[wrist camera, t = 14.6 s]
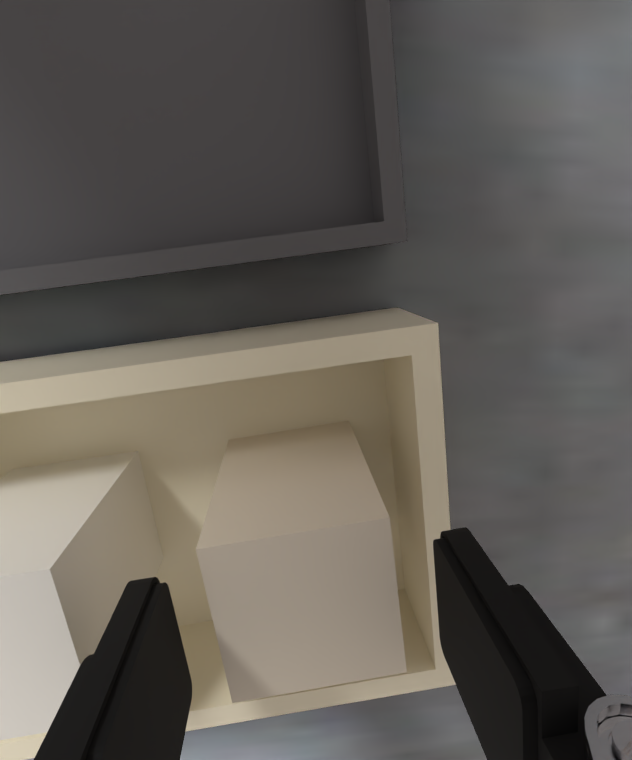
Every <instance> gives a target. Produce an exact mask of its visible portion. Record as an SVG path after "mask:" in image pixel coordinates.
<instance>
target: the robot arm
mask: <svg viewBox="0 0 632 760" xmlns="http://www.w3.org/2000/svg"><path fill="white" fill-rule="evenodd" d="M433 552H434V566H435V580H436V594H437V608H438V622H439V636H440V643H441V647H442V651H443V654H444V657H445V659H446V662H447V664H448V667H449V669H450V671H451V674H452V676H453V679H454V681H455V683H456V686H457V688H458V691H459V693H460V695H461V698H462V700H463V703H464V705H465V707H466V710H467V712H468V715H469V717H470V719H471V722H472V724H473V726H474V729H475V731H476V734H477V736H478V738H479V741H480V743H481V746H482V748H483V750H484V753H485V755H486V758H487V760H632V697H631V696H627V695H606V694H605V693H604V691H603V690H602V689H601V687H600V686H599V685H598V683H597V682H596V681H595V679H594V678H593V677H592V675H591V674H590V673H589V671H588V670H587V669H586V667H585V666H584V665H583V663H582V662H581V661H580V660H579V658H578V657H577V656H576V654H575V653H574V652H573V650H572V649H571V648H570V646H569V645H568V644H567V642H566V641H565V640H564V638H563V637H562V636H561V634H560V633H559V632H558V630H557V629H556V628H555V626H554V625H553V624H552V622H551V621H550V620H549V618H548V617H547V616H546V614H545V613H544V612H543V611H542V609H541V608H540V607H539V605H538V604H537V603H536V601H535V600H534V599H533V597H532V596H531V595H530V593H529V592H528V591H527V590H526V589H525V588H524V587H523V586H522V585H520V584H516V585H510V586H508V584H507V583H506V582H505V580H504V579H503V577H502V576H501V575H500V573H499V572H498V570H497V569H496V568H495V566H494V565H493V563H492V562H491V560H490V559H489V558H488V556H487V555H486V553H485V552H484V551H483V549H482V548H481V546H480V545H479V543H478V542H477V541H476V539H475V538H474V536H473V535H472V534H471V532H470V531H469V530H468V529H467V528H459V529H453V530H447V531H442V532H441V534H440V539H434V540H433ZM191 700H192V680H191V676H190V672H189V668H188V663H187V659H186V655H185V651H184V647H183V643H182V639H181V635H180V631H179V627H178V623H177V619H176V614H175V610H174V606H173V602H172V598H171V594H170V590H169V587H168V584H167V583H166V582H164V583H160V581H159V579H158V578H157V577H151V578H145V579H138V580H132V581H129V582H128V583H127V585H126V587H125V589H124V591H123V593H122V595H121V597H120V600H119V602H118V604H117V606H116V608H115V610H114V612H113V614H112V616H111V619H110V621H109V623H108V625H107V627H106V629H105V631H104V633H103V635H102V638H101V640H100V642H99V644H98V646H97V648H96V650H95V652H94V654H92V655H89V656H87V657H86V658H85V659H84V660H83V662H82V664H81V665H80V667H79V669H78V671H77V673H76V675H75V677H74V679H73V681H72V683H71V685H70V687H69V689H68V691H67V693H66V695H65V697H64V699H63V701H62V703H61V706H60V708H59V710H58V712H57V714H56V716H55V718H54V720H53V722H52V724H51V726H50V728H49V730H48V732H47V734H46V736H45V738H44V740H43V742H42V744H41V746H40V748H39V750H38V752H37V754H36V756H35V758H34V760H180V755H181V750H182V745H183V740H184V735H185V730H186V725H187V720H188V715H189V710H190V705H191Z"/></svg>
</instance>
